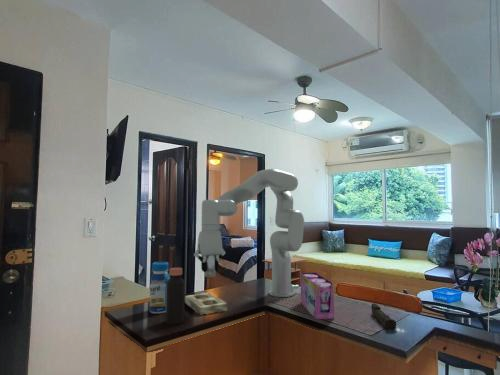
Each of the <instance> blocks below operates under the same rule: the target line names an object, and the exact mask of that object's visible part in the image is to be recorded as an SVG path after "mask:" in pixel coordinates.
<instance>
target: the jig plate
mask: <svg viewBox="0 0 500 375" xmlns="http://www.w3.org/2000/svg"><path fill="white" fill-rule="evenodd" d="M184 304H186V305H187V306H188V307H189V308H190V309H192V310H193V311H194V310H195V313H197V314H198V313H199V314H200V315H199V314H198V315H199V316H204V315H203V314H206V315H209V314H208V313H212V314H215V313H214V312H217V313H221V312H222V311H223V312H228V303H227V302H225V301H224V300H222V299H221V298H219V297H218V296H216V295H214V294H212V293H211V292H203V293H196V294H189V295H185V296H184Z"/></svg>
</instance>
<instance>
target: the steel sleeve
mask: <svg viewBox="0 0 500 375" xmlns="http://www.w3.org/2000/svg"><path fill="white" fill-rule="evenodd" d="M205 262H206V263H207V265H206V272H204V277H205V278H214V277H216V271H215V255H207V256H206V261H205Z"/></svg>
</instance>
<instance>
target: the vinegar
mask: <svg viewBox="0 0 500 375" xmlns="http://www.w3.org/2000/svg"><path fill="white" fill-rule="evenodd" d="M168 271H169V272H168V274H169V276H170V279H169V280H168V281H167V296H166V312H165V313H166V314H165V316H166V317H165V323H166V324H167V325H170V326H171V325H172V326H173V325H175V326H176V325H180V324H182V323H184V321H185V296H186V295H185V292H186V291H185V288H186V287H185V282H186V281H185V280H184V278H182V276H183V267H170V268H168Z"/></svg>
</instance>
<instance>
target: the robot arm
mask: <svg viewBox="0 0 500 375" xmlns="http://www.w3.org/2000/svg"><path fill="white" fill-rule="evenodd" d="M298 185H299V180H298V178H297V176H296V175H294V174H292V173H289V172H286V171H283V170H279V169H274V168H269V169H262V170H259V171H257V172H255V173H254V174H253V175H251V176H250V177H249V178H247V179H246V180H245V181H244V182H242V183H241V184H239V185H237V186H235V187H233V188H232V189H230V190H228V191H226V192H224V193H223V194H221V195H220V196H218V197H217V198H216V199H204V200H202V202H201V230H200V231H199V233H198V238H197V247H196V250H195V252H193V256H194V257H195V258H196V259H198V260H199V261H200V262H201V265H200V266H201V267H200V268H201V272H202V273H203V272H204V273H205V272H206V265H207V263H206V262H205V261H206V256H207V255H215V272H218V269H219V262H220V261H221V259H222V257H223V256H225V255H226V251H225V249H224V248H223V240H222V233H221V231H220V230H221V229H222V228H223V226H222V225H221V224H220V217H232V216H235V215H236V214H237V212H238V205H237V204H240V203H242V202H247V201H249V200H251V199H253V198H254V197H256V196H257V195H258V194H259V193H261V192H262V191H263V190H265V189H266V188H269V189H270V190H271V192H273V194H274V195H275V198H276V209H275V215H274V216H275V217H274V218H275V220H274V224H275V225H276V227H278V229H279V228H281V229H285V230H277V231H276V230H275V231H274V232H272V233H271V235H270V237H269V244H270V245H269V246H270V249H271V289H270V290H269V291H268V294H269V295H270V296H272V297H276V298H277V297H278V298H288V297H292V296H294V295H295V292H294V290H297V289H300V288H299V284H292V270H291V269H292V268H291V267H292V261H291V260H292V259H291V254H290V252H298V251H299V250H300V249H301V248H302V245H303V238H304V228H305V219H304V218H305V217H304V214H303V213H302V212H301V211H300V210H298V209H294V197H293V195H292V193H291V192H293V191H295V190H296V189H297V188H298ZM286 229H287V230H286Z"/></svg>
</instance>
